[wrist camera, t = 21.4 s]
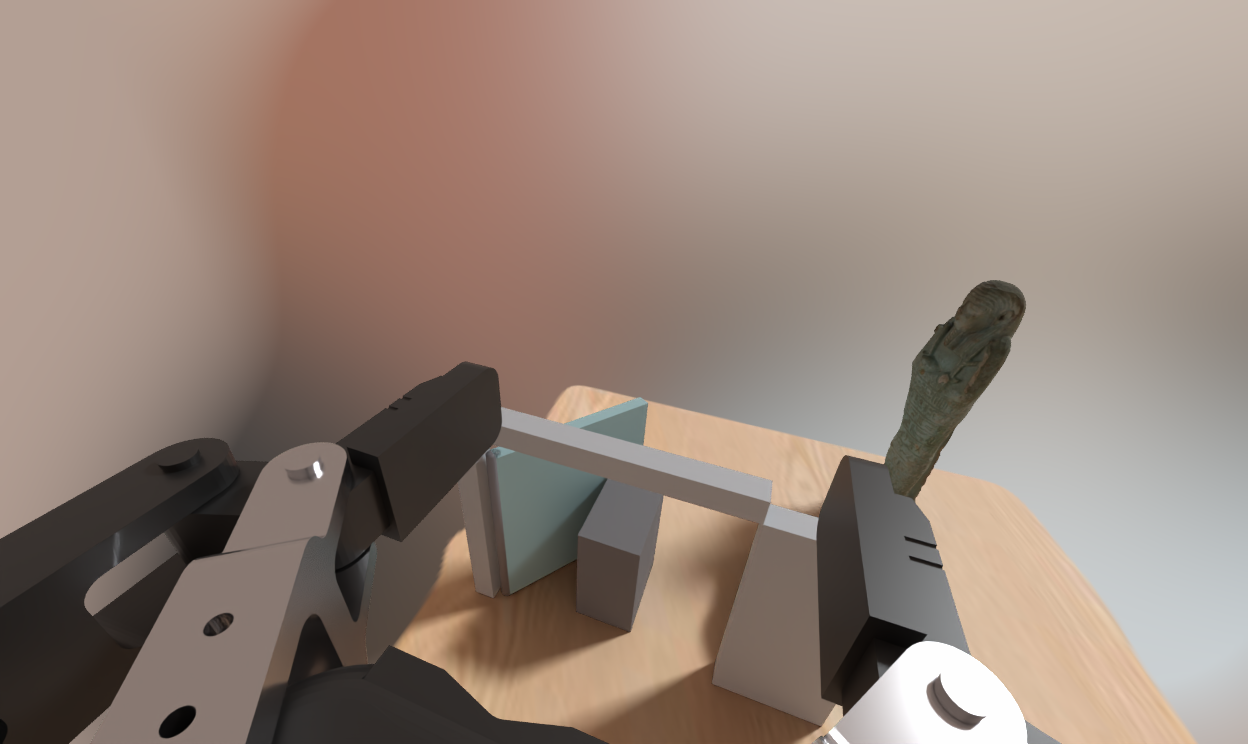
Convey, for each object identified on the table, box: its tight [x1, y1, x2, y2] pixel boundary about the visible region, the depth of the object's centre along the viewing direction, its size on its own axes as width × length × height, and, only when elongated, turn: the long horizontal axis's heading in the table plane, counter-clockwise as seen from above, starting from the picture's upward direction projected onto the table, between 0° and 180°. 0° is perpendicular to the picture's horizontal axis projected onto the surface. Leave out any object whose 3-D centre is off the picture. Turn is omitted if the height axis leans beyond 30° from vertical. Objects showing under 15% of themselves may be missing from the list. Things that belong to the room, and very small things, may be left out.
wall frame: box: [458, 407, 835, 727], centre depth 36 cm, size 32×2×22 cm, turn 71°
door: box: [485, 397, 648, 596], centre depth 45 cm, size 16×2×18 cm, turn 125°
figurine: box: [884, 280, 1026, 502], centre depth 51 cm, size 9×7×30 cm
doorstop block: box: [576, 479, 664, 632], centre depth 44 cm, size 6×8×11 cm
